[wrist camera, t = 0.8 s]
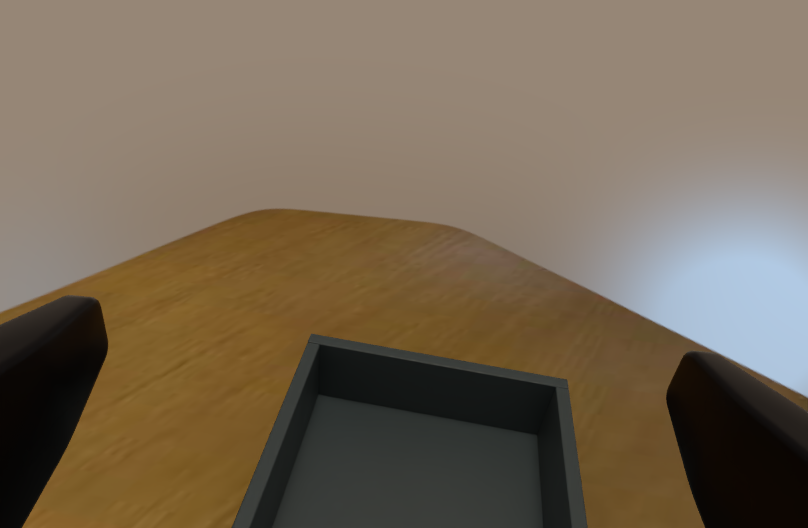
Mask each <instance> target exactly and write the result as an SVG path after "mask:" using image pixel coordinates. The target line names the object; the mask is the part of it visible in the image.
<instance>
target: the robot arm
mask: <svg viewBox="0 0 808 528" xmlns="http://www.w3.org/2000/svg"><path fill="white" fill-rule="evenodd" d="M107 351H108V338H107V334H106V329H105V324H104V319H103V314H102V309H101V306H100V303H99V302H98V300H96V299H95V298H93V297H84V296H73V295H68V296H64V297H61V298H59V299H57V300H55V301H53V302H50V303H48V304H46V305H44V306H41V307H39V308H37V309H35V310H32V311H30V312H28V313H26V314H23V315H21V316H19V317H17V318H14V319H12V320H10V321H8V322H5V323H3V324H1V325H0V528H22V527H23V525H24V523H25V521H26V519H27V518H28V516H29V514H30V512H31V511H32V509H33V507H34V505H35V504H36V502H37V500H38V498H39V497H40V495H41V493H42V491H43V489H44V488H45V486H46V484H47V482H48V481H49V479H50V477H51V475H52V474H53V472H54V470H55V468H56V466H57V465H58V463H59V461H60V459H61V457H62V456H63V454H64V452H65V450H66V448H67V446H68V444H69V442H70V440H71V437H72V435H73V433H74V431H75V429H76V426H77V424H78V422H79V419H80V417H81V415H82V412H83V410H84V407H85V405H86V403H87V400H88V398H89V396H90V393H91V391H92V389H93V386H94V384H95V382H96V379H97V377H98V375H99V372H100V370H101V368H102V365H103V363H104V361H105V358H106V355H107ZM666 400H667V406H668V410H669V414H670V417H671V421H672V424H673V428H674V432H675V435H676V439H677V442H678V446H679V450H680V453H681V457H682V460H683V464H684V468H685V471H686V475H687V478H688V482H689V485H690V488H691V491H692V494H693V497H694V500H695V502H696V505H697V508H698V511H699V513H700V516H701V518H702V521H703V523H704V526H705V528H808V412H807V411H806V410H804V409H803V408H801V407H800V406H798V405H796V404H795V403H793V402H792V401H790V400H789V399H787V398H785V397H784V396H782V395H781V394H779V393H778V392H776V391H775V390H773V389H771V388H770V387H768V386H767V385H765V384H764V383H762V382H760V381H759V380H757V379H756V378H754V377H753V376H751V375H750V374H748V373H746V372H745V371H743V370H742V369H740V368H739V367H737V366H735V365H734V364H732V363H731V362H729V361H728V360H726V359H725V358H723V357H721V356H720V355H718V354H716V353H712V352H701V351H690V352H687V353H686V354H685V355H684V356H683V358H682V360H681V362H680V364H679V366H678V368H677V370H676V372H675V374H674V376H673V378H672V380H671V383H670V385H669V387H668V390H667V395H666Z"/></svg>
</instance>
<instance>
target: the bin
mask: <svg viewBox="0 0 808 528" xmlns="http://www.w3.org/2000/svg"><path fill="white" fill-rule="evenodd" d="M232 528H587V521H586V513H585V506H584V499H583V491H582V484H581V477H580V469H579V462H578V455H577V448H576V440H575V433H574V426H573V418H572V411H571V404H570V396H569V390H568V382H567V380H566V379H561V378H555V377H550V376H544V375H538V374H533V373H527V372H522V371H516V370H511V369H505V368H499V367H494V366H488V365H483V364H477V363H472V362H466V361H460V360H455V359H449V358H444V357H438V356H433V355H427V354H421V353H416V352H410V351H405V350H399V349H394V348H388V347H382V346H377V345H371V344H366V343H360V342H354V341H349V340H343V339H338V338H332V337H327V336H321V335H315V334H311V336H310V338H309V340H308V343H307V346H306V348H305V350H304V353H303V355H302V358H301V360H300V363H299V365H298V368H297V370H296V372H295V375H294V377H293V380H292V382H291V385H290V387H289V389H288V392H287V394H286V397H285V399H284V402H283V404H282V406H281V409H280V411H279V414H278V416H277V419H276V421H275V424H274V426H273V428H272V431H271V433H270V436H269V438H268V441H267V443H266V445H265V448H264V450H263V453H262V455H261V458H260V460H259V462H258V465H257V467H256V470H255V472H254V475H253V477H252V480H251V482H250V484H249V487H248V489H247V492H246V494H245V497H244V499H243V501H242V504H241V506H240V509H239V511H238V514H237V516H236V518H235V521H234V523H233V526H232Z"/></svg>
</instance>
